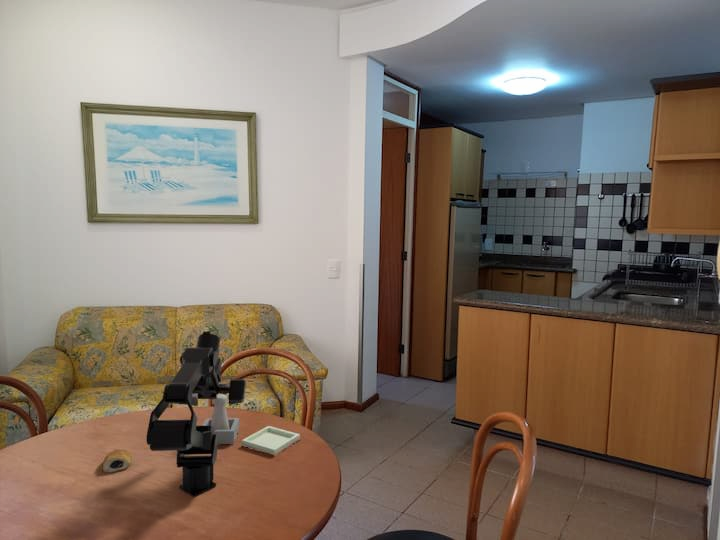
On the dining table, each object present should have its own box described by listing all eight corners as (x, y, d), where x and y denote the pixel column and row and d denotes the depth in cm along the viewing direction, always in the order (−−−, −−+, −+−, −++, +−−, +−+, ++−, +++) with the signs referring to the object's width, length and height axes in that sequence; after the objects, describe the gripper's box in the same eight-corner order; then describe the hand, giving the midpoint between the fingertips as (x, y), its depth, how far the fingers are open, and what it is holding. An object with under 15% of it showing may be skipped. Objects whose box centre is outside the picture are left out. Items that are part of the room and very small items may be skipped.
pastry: (105, 458, 132) (104, 445, 132) (132, 454, 135) (132, 441, 135) (102, 474, 124) (102, 460, 123) (131, 470, 127) (131, 456, 126)
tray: (274, 456, 135) (274, 449, 135) (241, 446, 141) (241, 440, 141) (300, 440, 146) (300, 434, 145) (268, 431, 151) (268, 425, 151)
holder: (233, 444, 142) (233, 431, 142) (198, 445, 141) (198, 431, 141) (239, 430, 152) (239, 417, 152) (206, 430, 151) (206, 418, 151)
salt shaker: (217, 443, 142) (217, 400, 141) (205, 438, 146) (205, 395, 145) (233, 436, 147) (233, 395, 146) (221, 431, 151) (221, 390, 149)
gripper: (245, 350, 131) (250, 378, 143) (174, 351, 130) (185, 378, 141) (240, 388, 124) (246, 414, 136) (165, 389, 122) (178, 415, 134)
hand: (214, 404), depth 137 cm, fingers open, 9 cm apart
